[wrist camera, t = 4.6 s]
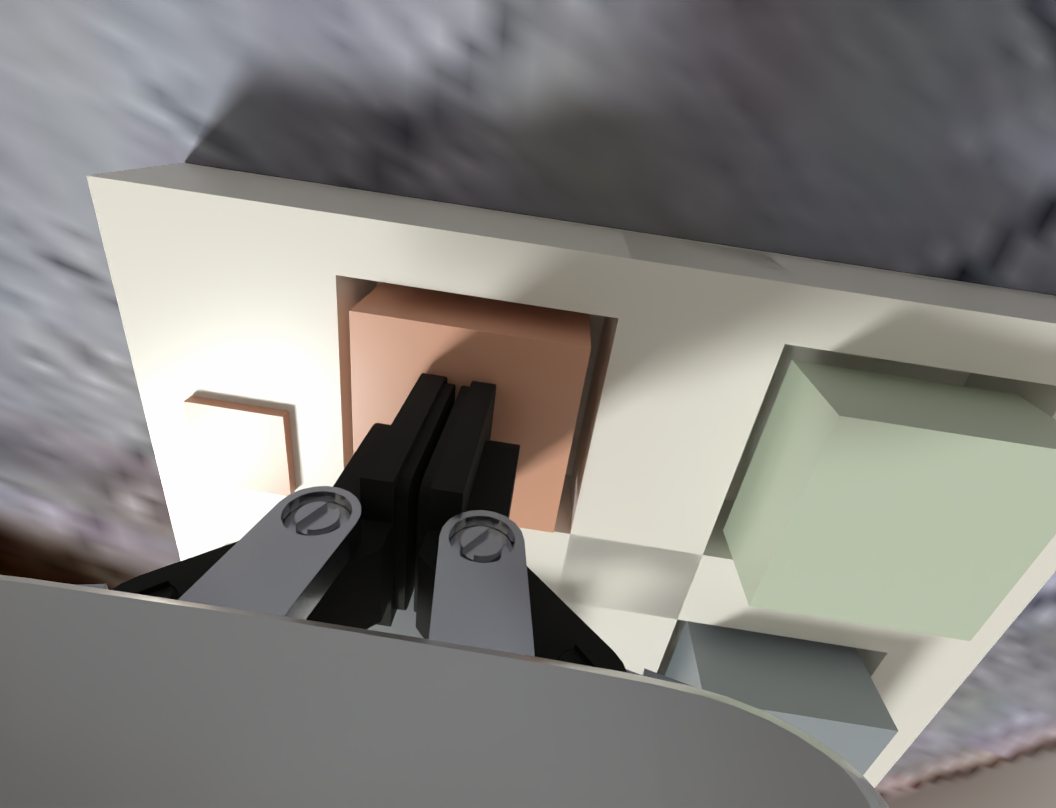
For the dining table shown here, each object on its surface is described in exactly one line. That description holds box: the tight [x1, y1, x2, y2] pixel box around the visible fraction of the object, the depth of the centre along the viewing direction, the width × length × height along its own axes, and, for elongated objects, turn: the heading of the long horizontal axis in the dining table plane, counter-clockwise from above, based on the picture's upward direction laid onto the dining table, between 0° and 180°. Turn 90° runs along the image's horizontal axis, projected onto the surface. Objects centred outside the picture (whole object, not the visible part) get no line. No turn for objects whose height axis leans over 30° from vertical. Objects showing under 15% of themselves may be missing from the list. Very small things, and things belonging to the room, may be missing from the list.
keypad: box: [87, 163, 1056, 788], centre depth 16 cm, size 23×17×3 cm
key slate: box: [665, 621, 898, 775], centre depth 16 cm, size 5×5×2 cm
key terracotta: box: [349, 282, 591, 533], centre depth 13 cm, size 5×5×2 cm
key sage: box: [723, 360, 1056, 641], centre depth 12 cm, size 5×5×2 cm
